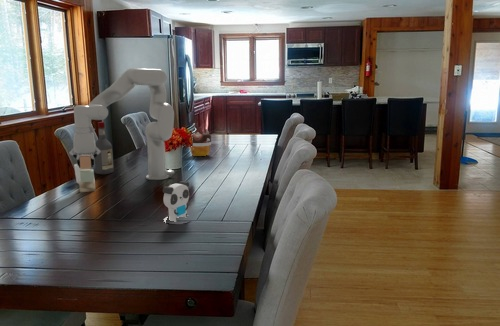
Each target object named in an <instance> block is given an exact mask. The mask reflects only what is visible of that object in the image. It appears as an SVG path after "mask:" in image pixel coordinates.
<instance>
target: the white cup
mask: <svg viewBox="0 0 500 326" xmlns="http://www.w3.org/2000/svg"><path fill="white" fill-rule="evenodd" d="M73 166H74V175H75V179H76V181H75V182H76V184H78V185H79V181H80V179H81V177H80V171H81V170H88V169H80V168H79V166H78V164H77V163H75V164H74V165H73Z"/></svg>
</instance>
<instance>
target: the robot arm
mask: <svg viewBox="0 0 500 326" xmlns="http://www.w3.org/2000/svg"><path fill="white" fill-rule="evenodd" d="M167 76H168V75H167V73H166V72H165V71H164V70H162V69H160V68H141V67H139V68H137V67H136V68H134V67H133V68H128V69H126V70H125V71H124V72H122V73H121V75H120V76H119V77H118V78H117V79H116V80H115V81H114V82H113V83H112V84H111V85H110V86H108V87H107V88H106V89H104V90H103V91H102V92H100V93H99V94H98V95H96V96H95V97H94V98H93V99H92V100H91V101H90V102H89V103H88V105H85V104H81V105H80V104H79V105H75V106H74V107H73V116H74V130H75V131H74V133H73V147H72V148H71V149H70V151H69V152H68V154H69V155H70V156H72V157H73V158H75V159H76V164H78V166H79V168H80V155H91V167H92V168H93V167H94V166H95V161H94V158H95V157H96V156H97V155H98V154H99V153H100V152H101V151H100V150H99V149H98V148H97V147H96V144H95V143H96V137H95V133H94V132H95V130H96V129H95V128H94V127H92V121H93V120H95V121H102V120H105V119H106V118H107V117H108V116H109V109H108V108H107V107H108V106H111V104H113V103H115V102H119V101H121V100H122V99H124V98H125V97H126V96H127V95H128V94H129V92H131V91H132V90H133V89H134V87H136V86H147V87H148V88H149V91H150V101H149V112H148V113H149V116H150V117H151V118H152V119H154V120H157V121H152V122H151V121H150V122H149V123H147V124H146V126H145V129H144V131H145V137H146V145H147V165H148V166H147V167H148V174H147V175H146V177H145V178H146V180H149V181H163V180H166V179H168V178H169V177H170V175H174V174H175V170H172V169H169V170H167V167H166V143H165V142H166V141H168V140H170V138H172V135H173V131H174V124H175V123H174V122H175V111H174V108H173V106H172V105H171V104H169V103H167V88H166V86H165V85H166V84H165V83H166V82H167V80H168V77H167ZM95 151H97V152H96V153H95ZM94 153H95V154H94Z"/></svg>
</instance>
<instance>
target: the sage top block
mask: <svg viewBox="0 0 500 326" xmlns="http://www.w3.org/2000/svg"><path fill="white" fill-rule="evenodd" d="M94 171H95V169H93V168H91V169H88V170H81V171H80V177H81V182H93V181H94V178H95V173H94Z"/></svg>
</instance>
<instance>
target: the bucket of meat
mask: <svg viewBox="0 0 500 326" xmlns="http://www.w3.org/2000/svg"><path fill="white" fill-rule="evenodd" d="M202 130H203V129H202V127H201V126H199V127H198V130H197V129H195V133H194V134H193V133H192V137H193V146H192V147H190V146H189V149H190V153H191V155H192V157H194V156H205V157H207V156H208V155H209V154H210V148H211V144H212V135H211V134H210V132H209V130H208V129H207V128H205V129H204V130H203V131H202ZM206 155H207V156H206Z"/></svg>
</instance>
